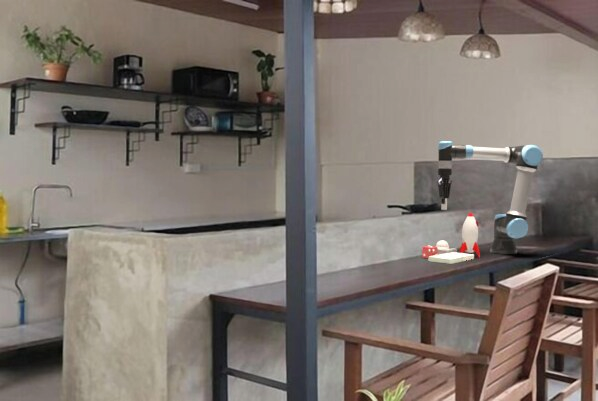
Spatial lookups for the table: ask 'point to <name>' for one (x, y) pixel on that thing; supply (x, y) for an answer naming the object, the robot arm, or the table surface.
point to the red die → (428, 251)
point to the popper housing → (446, 251)
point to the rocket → (470, 235)
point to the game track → (451, 257)
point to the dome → (442, 245)
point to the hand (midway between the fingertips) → (444, 209)
